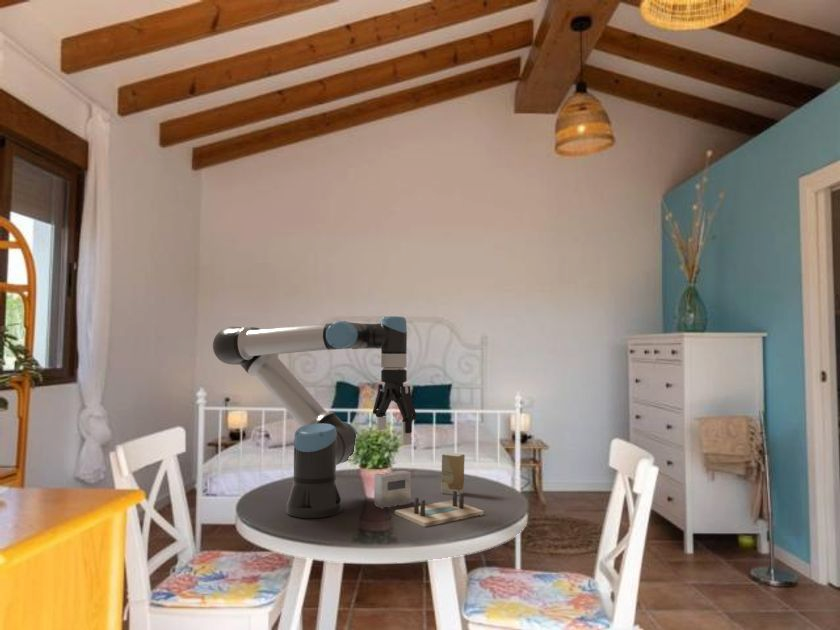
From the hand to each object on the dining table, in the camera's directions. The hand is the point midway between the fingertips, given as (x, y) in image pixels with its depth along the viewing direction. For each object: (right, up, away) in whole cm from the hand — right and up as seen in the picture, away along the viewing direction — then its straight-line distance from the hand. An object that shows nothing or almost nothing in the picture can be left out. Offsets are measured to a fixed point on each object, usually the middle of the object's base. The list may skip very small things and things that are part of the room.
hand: (393, 441), depth 174 cm
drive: (0, -18, -1) cm, 18 cm away
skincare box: (+18, -19, +13) cm, 29 cm away
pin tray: (+13, -18, -11) cm, 25 cm away
